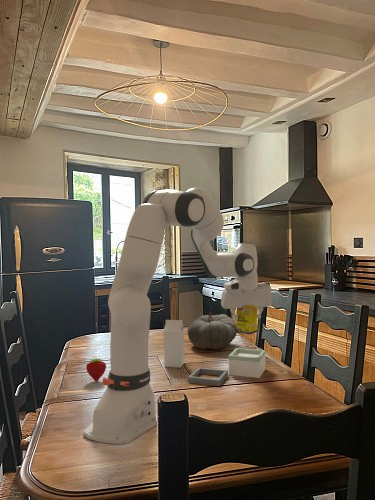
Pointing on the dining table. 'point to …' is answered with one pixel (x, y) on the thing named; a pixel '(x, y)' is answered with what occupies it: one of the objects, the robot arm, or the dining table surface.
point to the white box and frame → (234, 367)
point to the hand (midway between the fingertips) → (246, 318)
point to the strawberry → (96, 368)
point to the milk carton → (174, 343)
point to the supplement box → (247, 319)
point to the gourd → (212, 331)
